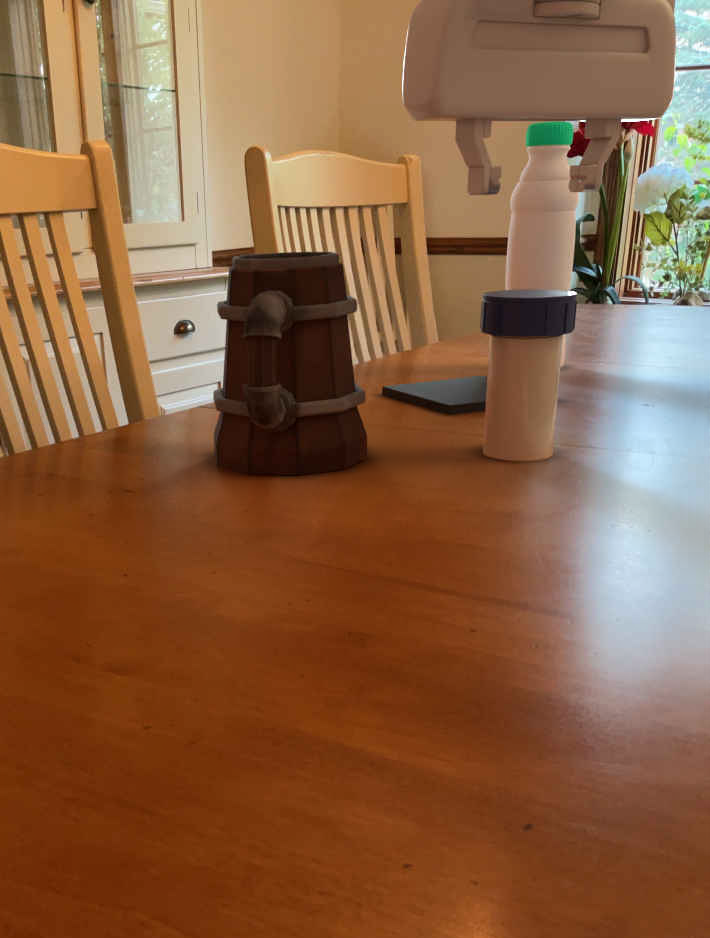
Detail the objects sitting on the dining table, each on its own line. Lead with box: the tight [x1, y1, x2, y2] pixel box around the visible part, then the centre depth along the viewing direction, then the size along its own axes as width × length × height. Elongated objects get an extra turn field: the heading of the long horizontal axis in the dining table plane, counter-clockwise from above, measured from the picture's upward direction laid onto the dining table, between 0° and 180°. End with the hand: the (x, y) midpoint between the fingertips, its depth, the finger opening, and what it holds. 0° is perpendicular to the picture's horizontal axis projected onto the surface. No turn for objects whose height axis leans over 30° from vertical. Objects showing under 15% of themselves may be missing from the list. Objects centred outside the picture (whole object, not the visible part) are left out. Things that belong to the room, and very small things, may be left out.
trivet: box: [381, 375, 487, 416], centre depth 101 cm, size 12×12×1 cm
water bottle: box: [505, 121, 580, 369], centre depth 113 cm, size 7×7×25 cm
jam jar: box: [482, 335, 563, 462], centre depth 78 cm, size 5×5×11 cm
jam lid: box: [479, 289, 578, 337], centre depth 76 cm, size 7×7×3 cm
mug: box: [212, 251, 368, 477], centre depth 76 cm, size 16×12×15 cm
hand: (534, 193), depth 73 cm, fingers open, 7 cm apart
